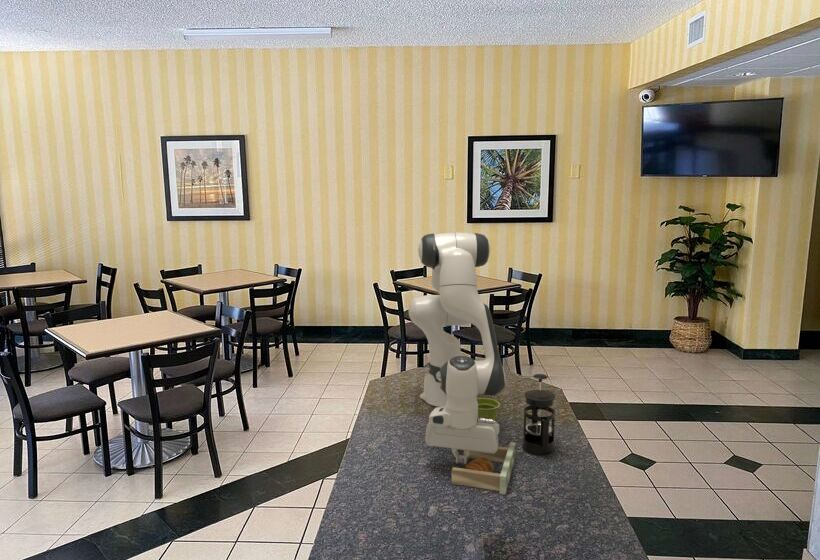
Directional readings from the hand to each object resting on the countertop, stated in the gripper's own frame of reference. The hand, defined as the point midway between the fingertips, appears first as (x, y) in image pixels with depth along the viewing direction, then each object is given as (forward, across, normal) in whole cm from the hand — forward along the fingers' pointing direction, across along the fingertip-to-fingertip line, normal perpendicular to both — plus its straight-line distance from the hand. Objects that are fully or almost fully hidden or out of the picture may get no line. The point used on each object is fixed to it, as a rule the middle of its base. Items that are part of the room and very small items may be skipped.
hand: (461, 462), depth 166 cm
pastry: (+2, -5, +1) cm, 6 cm away
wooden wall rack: (+2, -6, 0) cm, 6 cm away
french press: (+2, -20, -18) cm, 27 cm away
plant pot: (+2, -2, -28) cm, 28 cm away
